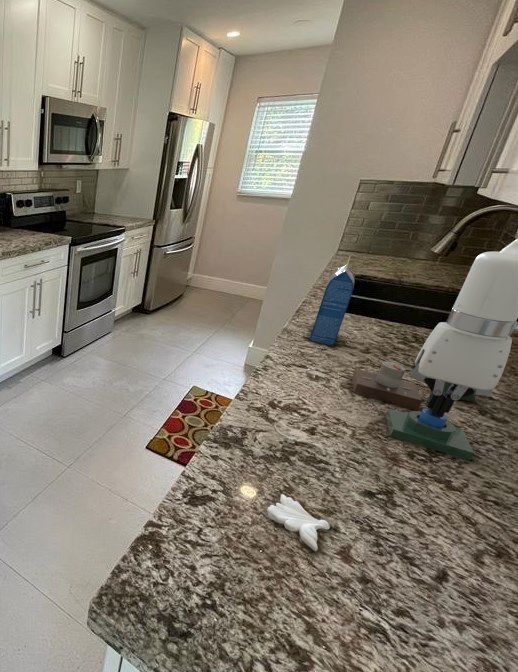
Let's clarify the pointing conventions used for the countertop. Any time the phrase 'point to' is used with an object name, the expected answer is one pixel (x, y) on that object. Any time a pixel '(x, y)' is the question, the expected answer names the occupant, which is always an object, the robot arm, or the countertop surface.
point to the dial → (390, 374)
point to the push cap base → (428, 434)
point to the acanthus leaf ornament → (297, 520)
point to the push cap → (432, 419)
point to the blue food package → (333, 306)
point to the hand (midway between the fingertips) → (434, 412)
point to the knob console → (386, 390)
